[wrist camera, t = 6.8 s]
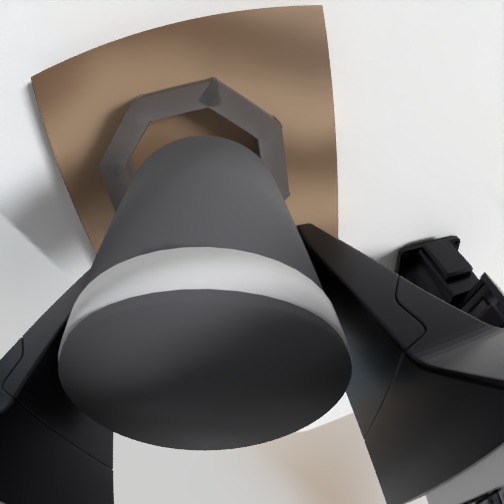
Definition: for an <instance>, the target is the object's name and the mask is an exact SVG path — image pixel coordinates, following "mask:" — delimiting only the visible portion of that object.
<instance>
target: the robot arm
mask: <svg viewBox="0 0 504 504" xmlns="http://www.w3.org/2000/svg"><path fill="white" fill-rule="evenodd" d="M296 227H297V230H298V232H299V234H300V237H301V239H302V241H303V243H304V246H305V248H306V250H307V253H308V255H309V257H310V260H311V262H312V264H313V267H314V269H315V271H316V274H317V276H318V278H319V281H320V283H321V286H322V288H323V290H324V293H325V295H326V296H327V297H328V299H329V300H330V301H331V304H332V306H333V308H334V310H335V312H336V315H337V317H338V320H339V322H340V324H341V327H342V329H343V332H344V334H345V337H346V339H347V342H348V344H349V347H350V352H351V364H352V375H351V380H350V383H349V385H348V388H347V389H346V393H347V396H348V398H349V401H350V404H351V406H352V409H353V411H354V414H355V417H356V419H357V422H358V425H359V427H360V430H361V433H362V435H363V438H364V439H365V444H366V446H367V449H368V452H369V455H370V458H371V460H372V463H373V466H374V469H375V471H376V474H377V477H378V480H379V483H380V486H381V488H382V491H383V494H384V497H385V500H386V503H387V504H405V503H408V502H410V501H413V500H415V499H417V498H420V497H422V496H425V495H426V497H427V501H428V504H504V293H503V291H502V290H501V289H500V288H499V287H498V286H497V285H496V284H495V282H494V281H493V280H492V279H491V278H490V277H489V276H488V275H487V274H486V273H485V272H484V273H483V275H482V276H481V279H480V280H479V279H478V278H477V277H476V275H475V274H474V273H473V272H472V270H473V268H472V266H471V265H470V264H469V263H468V262H467V261H466V259H465V258H464V257H463V256H462V255H461V254H460V253H459V252H458V248H459V244H460V239H459V238H458V237H457V236H452V237H448V238H444V239H440V240H435V241H431V242H427V243H423V244H418V245H414V246H409V247H405V248H402V249H401V250H400V251H399V254H398V260H397V266H396V272H393V271H391V270H390V269H388V268H387V267H385V266H383V265H382V264H380V263H378V262H377V261H375V260H373V259H372V258H370V257H368V256H367V255H365V254H363V253H362V252H360V251H358V250H356V249H355V248H353V247H351V246H350V245H348V244H346V243H345V242H343V241H341V240H339V239H338V238H336V237H334V236H332V235H331V234H329V233H327V232H325V231H324V230H322V229H320V228H318V227H317V226H315V225H313V224H311V223H306V224H301V225H297V226H296ZM89 272H90V269H89V270H88V271H87V272H86V273H85V274H84V275H83V276H82V277H81V278H80V279H79V280H78V281H77V282H76V283H75V284H74V285H72V286H71V287H70V288H69V290H67V291H66V292H65V293H64V294H63V295H62V296H61V297H60V298H59V299H58V300H57V301H56V302H55V303H54V304H53V305H52V306H51V307H50V308H49V309H48V310H47V311H46V312H45V313H44V314H43V315H42V316H41V317H40V318H39V319H38V320H37V321H36V323H35V324H34V325H33V326H32V327H31V328H30V329H29V330H28V331H27V332H26V333H25V334H24V335H23V338H20V339H19V340H18V342H17V343H16V344H15V345H14V346H13V347H12V348H11V349H10V350H9V351H8V352H7V353H6V354H5V356H4V357H3V358H2V359H1V360H0V504H114V494H113V470H112V469H113V431H111V430H109V429H107V428H105V427H103V426H102V425H100V424H98V423H97V422H95V421H94V420H92V419H91V418H89V417H88V416H87V415H85V414H84V413H83V412H82V411H81V410H80V409H79V408H78V407H77V406H76V405H75V404H74V403H73V402H72V401H71V400H70V398H69V397H68V396H67V394H66V393H65V391H64V389H63V387H62V385H61V382H60V378H59V375H58V352H59V348H60V343H61V340H62V337H63V334H64V331H65V328H66V325H67V322H68V319H69V317H70V314H71V311H72V308H73V306H74V304H75V302H76V300H77V298H78V297H79V295H80V294H81V292H82V289H83V287H84V284H85V282H86V279H87V277H88V274H89Z"/></svg>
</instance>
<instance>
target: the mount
mask: <svg viewBox="0 0 504 504" xmlns="http://www.w3.org/2000/svg"><path fill="white" fill-rule="evenodd" d="M31 80H32V84H33V88H34V92H35V95H36V99H37V103H38V106H39V109H40V113H41V116H42V119H43V123H44V126H45V129H46V132H47V135H48V138H49V141H50V144H51V147H52V150H53V152H54V155H55V158H56V161H57V164H58V166H59V169H60V172H61V174H62V177H63V179H64V182H65V184H66V187H67V189H68V192H69V194H70V197H71V199H72V202H73V204H74V206H75V209H76V211H77V213H78V215H79V218H80V220H81V222H82V224H83V227H84V229H85V231H86V233H87V235H88V238H89V240H90V242H91V244H92V246H93V248H94V250H95V252H96V254H97V253H98V250H99V248H100V246H101V243H102V241H103V239H104V237H105V234H106V232H107V230H108V228H109V226H110V224H111V221H112V219H113V217H114V215H115V213H116V211H117V209H118V207H119V205H120V203H121V201H122V199H123V197H124V195H125V193H126V191H127V189H128V187H129V185H130V183H131V181H132V179H133V177H134V176H135V174H136V172H137V170H138V169H139V168H140V166H141V165H142V163H143V162H144V161H145V160H146V159H147V158H148V157H149V156H150V155H151V154H153V153H154V152H155V151H156V150H158V149H159V148H161V147H163V146H164V145H166V144H168V143H171V142H173V141H175V140H178V139H182V138H186V137H192V136H216V137H222V138H226V139H229V140H232V141H235V142H237V143H239V144H241V145H243V146H245V147H247V148H248V149H250V150H251V151H252V152H254V153H255V154H256V155H257V156H258V157H259V158H260V159H261V160H262V161H263V162H264V163H265V164H266V166H267V167H268V168H269V170H270V171H271V173H272V175H273V177H274V179H275V181H276V184H277V186H278V188H279V190H280V192H281V194H282V196H283V199H284V201H285V203H286V205H287V207H288V210H289V212H290V214H291V216H292V219H293V221H294V223H295V225H296V226H297V225H301V224H306V223H311V224H313V225H315V226H317V227H318V228H320V229H322V230H324V231H325V232H327V233H329V234H331V235H332V236H334V237H336V238H338V180H337V152H336V133H335V117H334V103H333V91H332V80H331V70H330V60H329V51H328V43H327V35H326V27H325V20H324V13H323V7H322V5H312V6H287V7H272V8H261V9H252V10H244V11H236V12H230V13H223V14H217V15H211V16H206V17H201V18H196V19H191V20H187V21H182V22H178V23H174V24H170V25H166V26H162V27H158V28H154V29H151V30H147V31H144V32H141V33H137V34H134V35H131V36H128V37H125V38H122V39H119V40H116V41H113V42H110V43H107V44H105V45H102V46H99V47H97V48H94V49H91V50H89V51H86V52H84V53H82V54H79V55H77V56H74V57H72V58H70V59H68V60H65V61H63V62H61V63H59V64H57V65H55V66H52V67H50V68H48V69H46V70H44V71H42V72H40V73H38V74H36V75H34V76H32V77H31Z"/></svg>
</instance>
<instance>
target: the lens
mask: <svg viewBox="0 0 504 504" xmlns="http://www.w3.org/2000/svg"><path fill="white" fill-rule="evenodd" d="M58 375H59V378H60V382H61V385H62V387H63V389H64V391H65V393H66V394H67V396H68V397H69V398H70V400H71V401H72V402H73V403H74V404H75V405H76V406H77V407H78V408H79V409H80V410H81V411H82V412H83V413H84V414H85V415H87V416H88V417H89V418H91V419H92V420H94V421H95V422H97V423H98V424H100V425H102V426H103V427H105V428H107V429H109V430H111V431H113V432H115V433H118V434H120V435H122V436H125V437H128V438H131V439H134V440H137V441H141V442H144V443H148V444H152V445H156V446H161V447H168V448H174V449H185V450H222V449H234V448H240V447H247V446H252V445H257V444H261V443H265V442H268V441H272V440H275V439H278V438H281V437H283V436H286V435H289V434H291V433H293V432H296V431H298V430H300V429H302V428H304V427H306V426H308V425H309V424H311V423H313V422H314V421H316V420H317V419H319V418H320V417H322V416H323V415H324V414H326V413H327V412H328V411H329V410H330V409H331V408H332V407H333V406H334V405H336V403H337V402H338V401H339V400H340V399H341V397H342V396H343V395H344V393H345V391H346V389H347V388H348V385H349V383H350V380H351V375H352V364H351V352H350V347H349V344H348V342H347V339H346V337H345V334H344V332H343V329H342V327H341V324H340V322H339V320H338V317H337V315H336V312H335V310H334V308H333V306H332V304H331V301H330V300H329V299H328V297H327V296H326V295H325V293H324V290H323V288H322V286H321V283H320V281H319V278H318V276H317V274H316V271H315V269H314V267H313V264H312V262H311V260H310V257H309V255H308V253H307V250H306V248H305V246H304V243H303V241H302V239H301V237H300V234H299V232H298V230H297V227H296V225H295V223H294V221H293V219H292V216H291V214H290V212H289V210H288V207H287V205H286V203H285V201H284V199H283V196H282V194H281V192H280V190H279V188H278V186H277V184H276V181H275V179H274V177H273V175H272V173H271V171H270V170H269V168H268V167H267V166H266V164H265V163H264V162H263V161H262V160H261V159H260V158H259V157H258V156H257V155H256V154H255V153H254V152H252V151H251V150H250V149H248V148H247V147H245V146H243V145H241V144H239V143H237V142H235V141H232V140H229V139H226V138H222V137H216V136H192V137H186V138H182V139H178V140H175V141H173V142H171V143H168V144H166V145H164V146H163V147H161V148H159V149H158V150H156V151H155V152H154V153H153V154H151V155H150V156H149V157H148V158H147V159H146V160H145V161H144V162H143V163H142V165H141V166H140V168H139V169H138V170H137V172H136V174H135V176H134V177H133V179H132V181H131V183H130V185H129V187H128V189H127V191H126V193H125V195H124V197H123V199H122V201H121V203H120V205H119V207H118V209H117V211H116V213H115V215H114V217H113V219H112V221H111V224H110V226H109V228H108V230H107V232H106V234H105V237H104V239H103V241H102V243H101V246H100V248H99V250H98V253H97V255H96V257H95V260H94V262H93V264H92V267H91V269H90V272H89V274H88V277H87V279H86V282H85V284H84V287H83V289H82V292H81V294H80V295H79V297H78V298H77V300H76V302H75V304H74V306H73V308H72V311H71V314H70V317H69V319H68V322H67V325H66V328H65V331H64V334H63V337H62V340H61V343H60V348H59V352H58Z"/></svg>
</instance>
